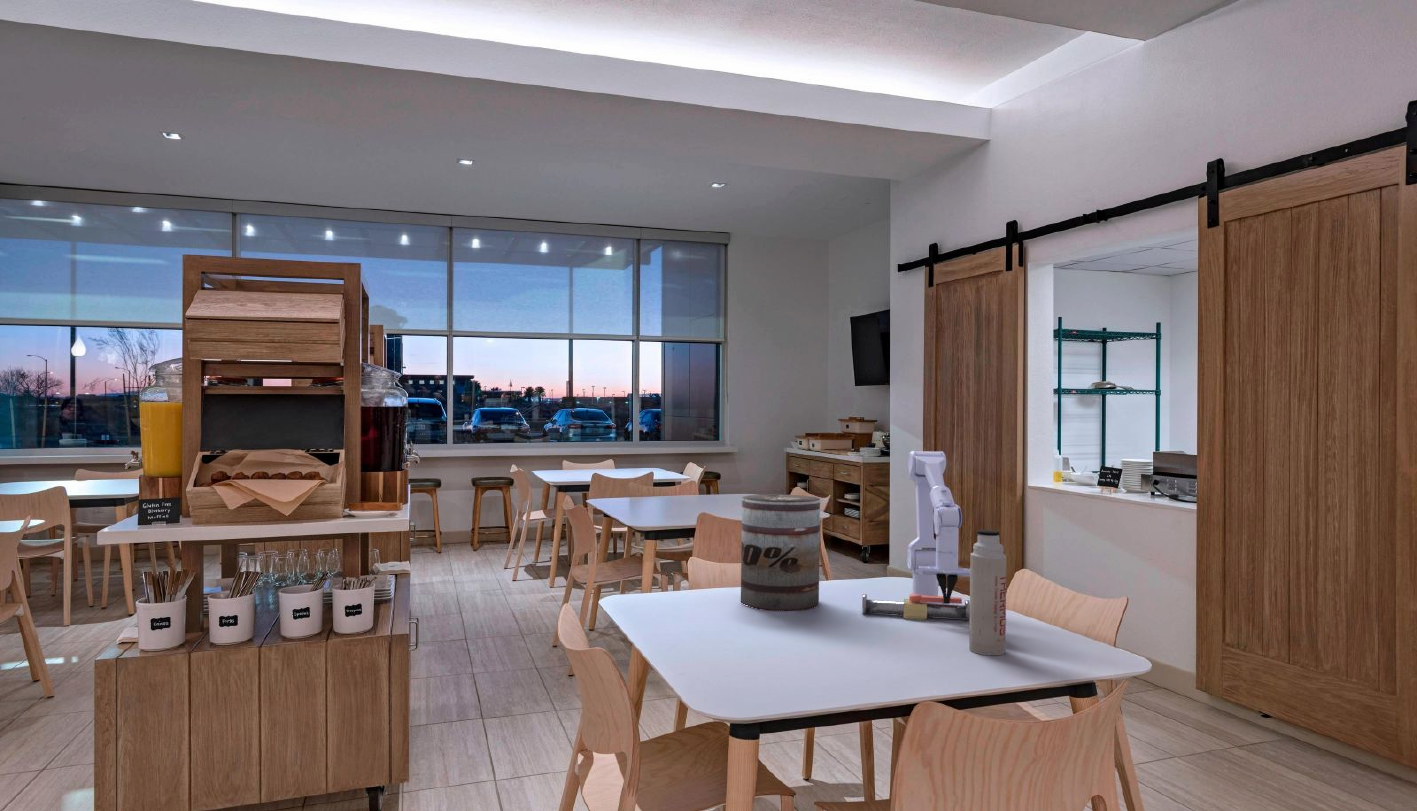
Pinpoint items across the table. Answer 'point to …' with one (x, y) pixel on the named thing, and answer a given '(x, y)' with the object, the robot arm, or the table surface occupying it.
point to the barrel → (780, 552)
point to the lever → (933, 599)
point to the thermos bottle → (987, 595)
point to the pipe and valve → (916, 609)
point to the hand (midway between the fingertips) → (946, 602)
